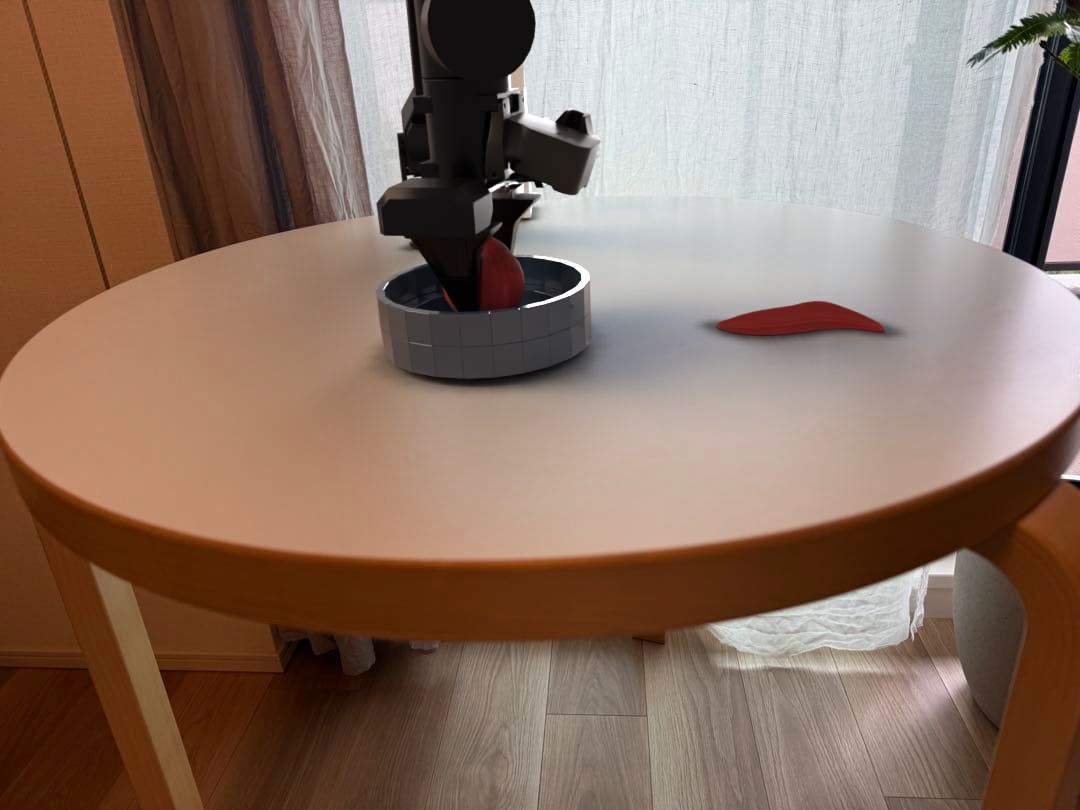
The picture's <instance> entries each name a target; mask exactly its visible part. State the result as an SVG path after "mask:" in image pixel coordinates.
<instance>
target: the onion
mask: <svg viewBox="0 0 1080 810" xmlns="http://www.w3.org/2000/svg"><path fill="white" fill-rule="evenodd" d="M514 255H515V254H514V253H513V254H512V253H511V251H510V250H509V249H508V248H507V247H506V245H505V244H503V243H502V242H501V241H499V240H497V239H495V238H493V237H491V238H490V239H489V241H488V242H487V243H486V244H485V246H484V249H483V266H482V286H481V302H480V311H492V310H499V309H507V308H515V307H519V306H520V303H521V301H522V299H523V293H524V284H525V281H524V275H523V270H522V268H521V266H520V263H519V262H518V260H517V259H516V258H515V257H514ZM443 290H444V288H443ZM444 294H445V297H446V300H447V301H448V303H449V304H450V306H451V307H452V309H453V310H454V311H455V312H458V311H457V309H456V308H455V306H454V304H453V303H452V301H451V300H450V298H449V296H448V295H447V293H446V291H445V290H444Z"/></svg>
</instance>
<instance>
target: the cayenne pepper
mask: <svg viewBox="0 0 1080 810" xmlns="http://www.w3.org/2000/svg"><path fill="white" fill-rule="evenodd" d="M715 327H716V328H718V329H720V330H723V331H727V332H731V333H735V334H741V335H742V334H743V335H754V336H775V335H776V336H777V335H789V334H799V333H805V332H806V333H807V332H814V331H821V330H822V331H823V330H833V329H851V330H854V329H855V330H863V331H871V332H877V333H886V331H885V328H884V327H883V325H882V324H881V323H879V322H878V321H877V320H875V319H873V318H871V317H869V316H867V315H864V314H862V313H860V312H858V311H856V310H853V309H850V308H848V307H845V306H843V305H839V304H836V303H833V302H829V301H825V300H813V301H804V302H800V303H796V304H795V303H794V304H792V305H791V304H790V305H786V306H784V305H783V306H778V307H771V308H766V309H760V310H755V311H749V312H746V313H742V314H739V315H736V316H733V317H730V318H727V319H724V320H720V321H718V322H717V323H715Z"/></svg>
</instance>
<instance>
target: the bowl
mask: <svg viewBox="0 0 1080 810" xmlns="http://www.w3.org/2000/svg"><path fill="white" fill-rule="evenodd" d="M513 255H514V257H515V258H516V259H517V260H518V262H519V263H520V266H521V268H522V270H523V275H524V281H525V284H524V293H523V299H522V301H521V303H520V306H519V307H515V308H507V309H499V310H492V311H474V312H455V311H454V310H453V309H452V307H451V306H450V304H449V303H448V301H447V300H446V297H445V294H444V290H443V287H442V285H441V283H440V282H439V280H438V278H437V277H436V275H435V274H434V272H433V271H432V269H431V268H430V266H429V265H428V263H425V264H420V265H417V266H413V267H410V268H407V269H405V270H403V271H402V270H401V271H400V272H399V271H398V272H397V273H394V274H392V275H390V276H388V277H387V278H386V279H384V280H382V281H381V282H380V283H379V284H378V285H377V287H376V288H375V290H374V293H375V300H376V304H377V305H376V306H377V315H378V320H379V328H380V335H381V342H382V349H383V353H384V357H385V359H387V360H388V361H389V362H390V363H392V364H393V365H394V366H395V367H397V368H400V369H403V370H405V371H408V372H409V373H413V374H418V375H423V376H424V375H425V376H429V377H430V376H431V377H434V378H435V377H437V378H446V379H447V378H448V379H465V380H470V379H471V380H472V379H473V380H474V379H494V378H502V377H509V376H514V375H516V376H517V375H521V374H526V373H530V372H534V371H538V370H541V369H546V368H550V367H552V366H555V365H558V364H560V363H562V362H565V361H567V360H570V359H572V358H573V357H575V356H576V355H578V354H580V353H581V352H582V351H584V350H585V349H586V347H587V346H588V345H589V343H590V342H591V339H592V306H591V305H592V304H591V278H590V273H589V272H588V271H587V270H586V269H585V268H584V267H582V265H580V264H576V263H574V262H571V261H569V260H566V259H565V260H564V259H560V258H554V257H551V256H543V255H542V256H539V255H529V254H513Z"/></svg>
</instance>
